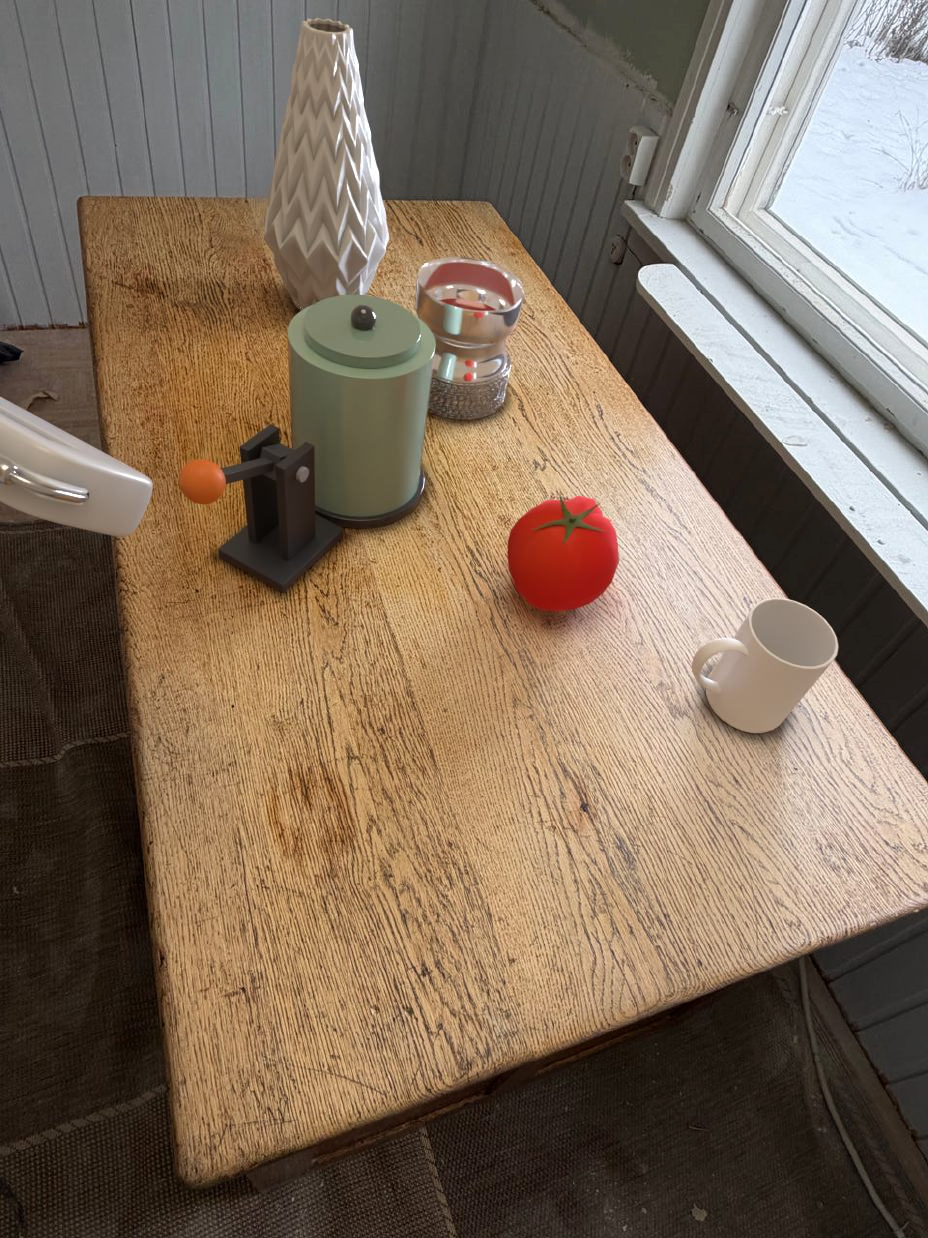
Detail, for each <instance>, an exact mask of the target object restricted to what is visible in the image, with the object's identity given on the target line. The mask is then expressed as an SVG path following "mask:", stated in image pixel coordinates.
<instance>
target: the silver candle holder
mask: <svg viewBox="0 0 928 1238" xmlns="http://www.w3.org/2000/svg"><path fill="white" fill-rule="evenodd" d="M415 287H416V288H415V295H414V307H415V313H416V316H417V317H418V318H419V319H421V320H422V321H423V322H424V323H425V324H426V325H427V326H428V327H429V329H430V330H431V332H432V333H433V335H434V338H435V344H436V347H435V355H434V364H433V372H432V380H431V388H430V397H429V405H428V414H432V415H434V416H436V417H439V418H442V419H446V420H454V421H475V420H481V419H485V418H487V417H489V416H492V415H494V414H495V413H496V412H497V411H499V410H500V409H501V408H502V406H503V404H504V401H505V396H506V392H507V388H508V382H509V377H510V372H511V367H512V359H511V356H510V354H509V352H508V350H507V346H506V342H507V339H508V338H509V337H510V336H511V334H513V332H514V331H515V330H516V328H517V326H518V324H519V321H520V317H521V312H522V308H523V303H524V299H525V288H524V285H523V283H522V281H521V279H519V277H518V276H516V274H514V273H512V272H511V271H510V270H508V269H507V268H505V267H503V266H501V265H499V264H496V263H494V262H491V261H488V260H484V259H480V258H475V257H466V256H447V257H440V258H436V259H433V260H431V261H429V262H427V263H424V265H422V267H421V268H420V269H419V271H418V272H417V276H416V286H415Z"/></svg>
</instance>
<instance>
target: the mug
mask: <svg viewBox="0 0 928 1238" xmlns="http://www.w3.org/2000/svg"><path fill="white" fill-rule="evenodd" d="M838 652H839V642H838V637H837V635H836V633H835V630H834V629H833V627H832V626H831V625H830V624H829V622H828V621H827V620H826V619H825V618H824V617H823V616H822V615H820V614H819V613H818V612H817V611H815V610H814V609H812V608H810V607H809V606H808V605H806V604H804V603H801V602H798V601H796V600H793V599H788V598H783V597H771V598H766V599H763V600H760V601H759V602H757V603H755V605H754V606H753V607H752V608H751V609H750V611H749V612H748V614H747V615H746V617H745V618H744V620H743V622H742V623H741V624H740V626H739V628H738V629H737V631H736V632H735V634H734V636H733V637H732V638H731V637H718V638H715V639H712V640H709V641H708V642H705V643H704V644H703V645H702V646H701V647H700V648H699V649H698V650H696V652H695V654H694V656H693V658H692V660H691V661H692V662H691V672H692V675H693V676H694V679H695V680H696V682H697V684H699V685H700V686H701V687H702V688H704V689H705V696H706V699H707V702H708V704H709V706H710V707H711V709H712V711H713V712H714V714H716V715H717V717H719V718H720V719H721V720H722V721H723V722H725V723H726V724H728V726H730V727H733V728H734V729H736V730H739V731H741V732H745V733H751V734H764V733H767V732H771V731H774V730H775V729H777V728H778V727H780V726H781V725H782V723H783V722H784V721H785V720H786V718H788V716H789V715H790V714H791V713H792V711H793V710H794V709H795V707H796V706H797V705H798V704H799V703H800V702H801V701H802V699H803V698H804V697H805V695H806V694H808V692H809V691H810V690H811V688H812V687H813V686H814V685H815V684H816V682H817V681H818V680H819V679H820V677H821V676H822V675H823V674H824V673H825V671H827V669H829V667H830V666H831V664H832V663H833V662H834V661H835V659H836V657H837V656H838ZM721 653H722V654H721ZM719 654H721V655H720V657H719V659H718V660H717V662H716V663H715V665H714V667H713V668H712V670H711V671H710V673H709V674H708V676H707V677H706V676H704V675H703V674H702V669H703V667H704V665H705V664H706V663H707V661H709V660H710V659H711V658H712V657H714V656H716V655H719Z"/></svg>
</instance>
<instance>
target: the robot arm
mask: <svg viewBox="0 0 928 1238" xmlns="http://www.w3.org/2000/svg"><path fill="white" fill-rule="evenodd" d="M153 488H154V484H153V481H152V479H151V478H150V477H148V476H147V475H146V474H144V473H143V472H140V471H139V470H137V469H135V468H134V467H132V466H130V465H128V464H126V463H124V462H123V461H120V460H119V459H116V458H115V457H113V456H111V455H110V454H107V453H105V452H104V451H102V450H100V449H98V448H96V447H94V446H93V445H91V444H89V443H88V442H85V441H84V440H82V439H80V438H78V437H76V436H74V435H72V434H70V433H69V432H67V431H64V430H63V429H61V428H59V427H57V426H55V424H52V423H50V422H48V421H46V420H45V419H43V418H41V417H39V416H36V415H35V414H33V413H31V412H29V411H28V410H26V409H24V408H23V407H20V406H18V405H17V404H15V403H13V402H11V401H9V400H7V399H5V398H3V397H2V396H0V502H1V503H3V504H5V505H7V506H9V507H10V508H13V509H15V510H17V511H20V512H21V513H25V514H27V515H30V516H33V517H36V518H39V519H41V520H45V521H48V522H52V523H56V524H59V525H63V526H67V527H71V528H76V529H80V530H85V531H88V532H93V533H97V534H103V535H107V536H111V537H116V538H127V537H129V536H131V535H133V534H134V532H135V531H136V530H137V529H138V527H139V525H140V523H141V521H142V519H143V518H144V515H145V513H146V512H147V508H148V506H149V504H150V501H151V497H152V494H153V490H154V489H153Z"/></svg>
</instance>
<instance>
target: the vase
mask: <svg viewBox="0 0 928 1238" xmlns="http://www.w3.org/2000/svg"><path fill="white" fill-rule="evenodd" d="M300 29H301V30H300V34H299V36H298V42H297V46H296V52H295V61H294V63H293V66H292V70H291V77H290V87H289V96H288V99H287V104H286V108H285V112H284V116H283V120H282V127H281V130H280V134H279V141H278V144H277V145H278V146H277V151H276V155H275V157H274V164H273V173H272V177H271V182H270V187H269V191H268V195H267V202H266V210H265V214H264V219H263V227H264V231H263V241H264V242H265V243H266V245H267V246H268V248H269V249H270V251H271V252H272V254H273V260H274V265H275V268H276V270H277V273H278V274H279V276H280V278H281V280H282V283H283V284H284V286H285V288H286V290H287V291H288V294H289V295H290V298H291V300H292V303H293V304H294V306H295V307H296V308H297V309H298V310H299V312H300V311H302V310H303V309H305V308H307V307H309V306H311V305H314V304H315V303H317V302H319V301H321V300H324V299H326V298H330V297H334V296H340V295H367V294H368V293H369V291H370V288H371V286H372V283H373V282H374V279H375V277H376V272H377V269H378V267H379V263H380V262H381V261H382V260H383V258H384V256H385V255H386V251H387V245H388V244H389V241H390V234H389V233H390V232H389V228H388V227H389V226H388V224H387V212H386V207H385V204H384V201H383V197H382V193H381V189H380V171H379V168H378V165H377V161H376V157H375V152H374V148H373V144H372V132H371V128H370V125H369V121H368V117H367V113H366V109H365V98H364V95H363V94H364V93H363V86H362V79H361V75H360V69H359V68H360V65H359V61H358V57H357V53H356V49H355V41H354V29H353V28H352V27H350V25H349V24H347V23H342V22H341V21H340V20H337V21H336V20H335V21H333V20H332V19H330V18H326V19H322V18H319V17H316V18H315V19H312V18H307V19H306V20H302V22H301V28H300ZM294 301H295V302H297V303H298V304H299V305H298V304H297V303H295V302H294ZM300 307H301V308H300ZM302 308H303V309H302Z"/></svg>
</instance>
